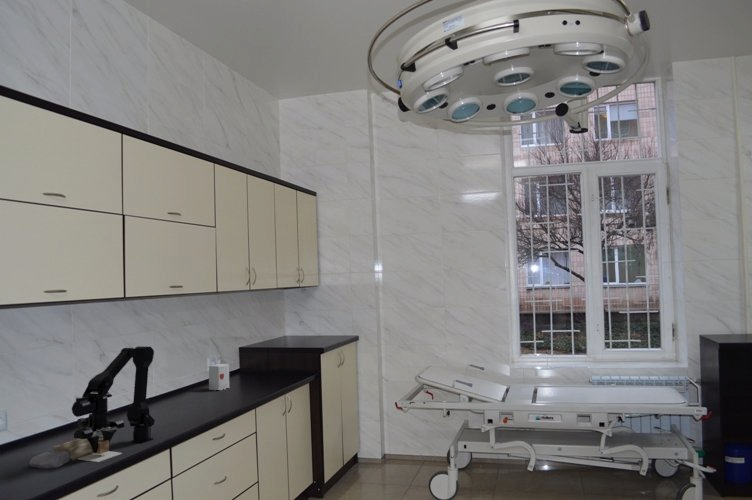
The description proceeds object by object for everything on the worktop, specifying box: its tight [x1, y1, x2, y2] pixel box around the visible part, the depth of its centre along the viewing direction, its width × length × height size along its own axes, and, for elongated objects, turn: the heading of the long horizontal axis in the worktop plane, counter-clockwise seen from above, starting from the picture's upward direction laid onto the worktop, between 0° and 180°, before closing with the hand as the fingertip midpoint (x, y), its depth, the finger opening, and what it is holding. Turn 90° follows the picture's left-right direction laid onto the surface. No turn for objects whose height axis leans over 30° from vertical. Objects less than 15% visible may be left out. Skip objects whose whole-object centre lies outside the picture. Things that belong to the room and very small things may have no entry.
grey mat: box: [77, 450, 123, 463], centre depth 222 cm, size 11×11×1 cm
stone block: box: [29, 451, 70, 469], centre depth 215 cm, size 12×5×10 cm
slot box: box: [53, 434, 103, 462], centre depth 228 cm, size 17×10×4 cm, turn 155°
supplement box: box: [208, 363, 230, 391], centre depth 355 cm, size 9×9×15 cm
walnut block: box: [91, 439, 110, 454], centre depth 222 cm, size 4×5×4 cm
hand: (100, 451), depth 222 cm, fingers open, 4 cm apart
